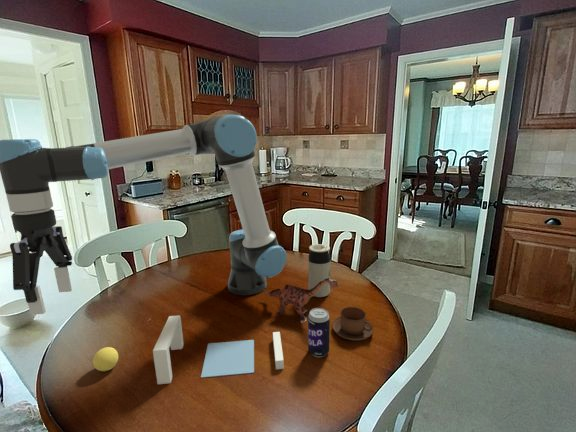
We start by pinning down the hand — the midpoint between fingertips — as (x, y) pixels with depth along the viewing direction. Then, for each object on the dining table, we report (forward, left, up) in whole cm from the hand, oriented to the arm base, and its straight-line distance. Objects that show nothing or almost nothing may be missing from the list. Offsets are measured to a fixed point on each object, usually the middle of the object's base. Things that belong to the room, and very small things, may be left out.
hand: (52, 301), depth 74 cm
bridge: (-26, 0, -20) cm, 32 cm away
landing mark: (-41, 0, -20) cm, 45 cm away
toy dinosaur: (-61, -19, -20) cm, 67 cm away
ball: (-10, 0, -17) cm, 19 cm away
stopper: (-54, 0, -20) cm, 57 cm away
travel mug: (-72, -32, -20) cm, 81 cm away
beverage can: (-65, +1, -20) cm, 68 cm away
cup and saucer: (-77, -7, -20) cm, 79 cm away
